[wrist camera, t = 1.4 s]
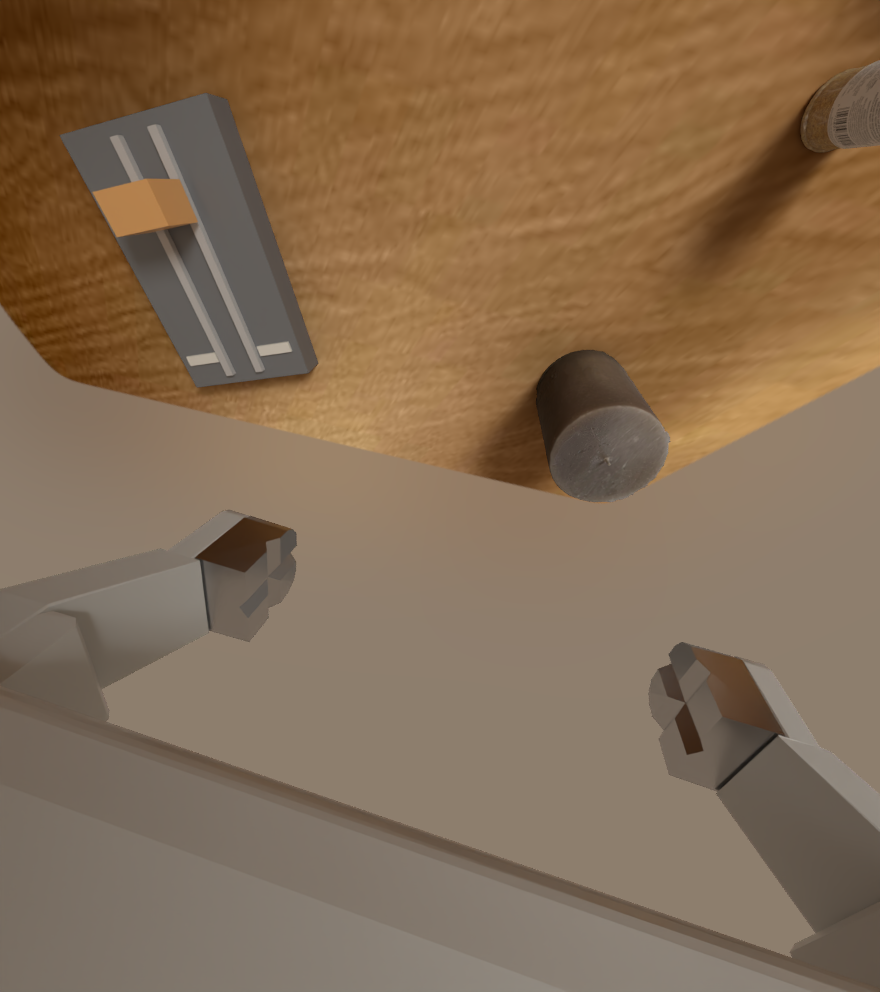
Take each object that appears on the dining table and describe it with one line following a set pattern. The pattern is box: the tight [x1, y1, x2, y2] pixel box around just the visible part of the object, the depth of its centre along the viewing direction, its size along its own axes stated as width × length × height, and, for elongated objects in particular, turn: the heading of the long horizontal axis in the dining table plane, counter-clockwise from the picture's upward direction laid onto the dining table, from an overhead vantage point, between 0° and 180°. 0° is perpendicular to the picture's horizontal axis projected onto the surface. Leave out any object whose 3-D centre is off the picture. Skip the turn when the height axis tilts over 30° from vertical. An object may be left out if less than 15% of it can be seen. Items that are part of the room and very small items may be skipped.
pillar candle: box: [536, 350, 670, 502], centre depth 39 cm, size 10×10×15 cm
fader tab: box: [92, 179, 198, 237], centre depth 34 cm, size 3×5×5 cm, turn 99°
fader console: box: [59, 93, 318, 387], centre depth 39 cm, size 22×14×4 cm, turn 9°
